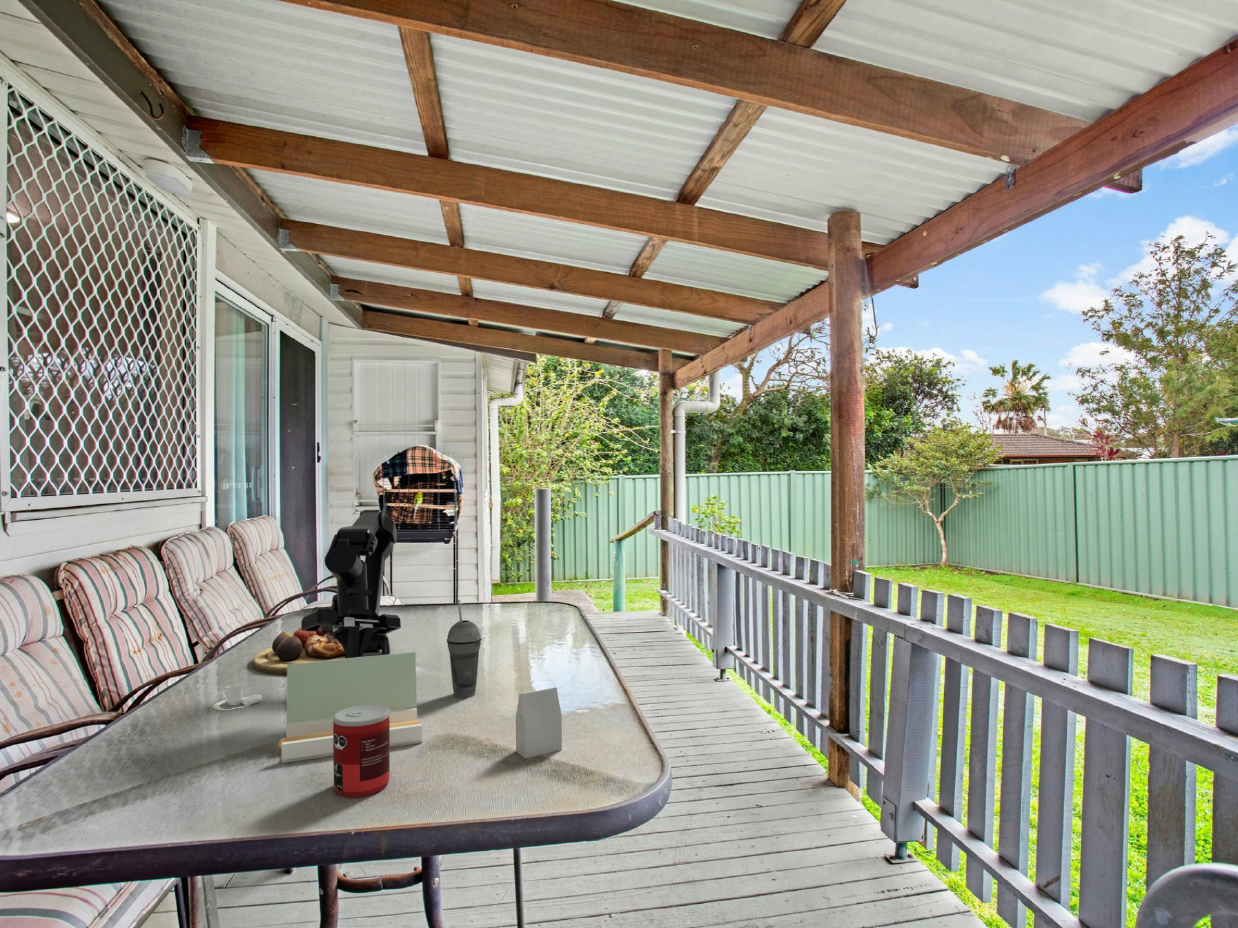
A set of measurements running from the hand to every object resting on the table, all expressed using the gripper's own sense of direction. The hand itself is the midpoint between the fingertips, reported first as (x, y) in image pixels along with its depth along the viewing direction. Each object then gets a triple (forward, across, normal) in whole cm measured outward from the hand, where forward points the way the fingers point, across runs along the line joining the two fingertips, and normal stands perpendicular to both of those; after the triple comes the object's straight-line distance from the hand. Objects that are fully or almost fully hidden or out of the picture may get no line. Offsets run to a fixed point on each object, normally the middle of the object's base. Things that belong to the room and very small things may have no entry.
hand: (354, 667), depth 132 cm
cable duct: (+14, +4, +5) cm, 15 cm away
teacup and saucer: (+2, +7, -29) cm, 30 cm away
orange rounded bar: (+14, +4, +5) cm, 15 cm away
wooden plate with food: (-13, -24, -46) cm, 54 cm away
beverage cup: (+7, -24, +4) cm, 25 cm away
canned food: (+22, +13, +19) cm, 32 cm away
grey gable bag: (+22, -11, +33) cm, 41 cm away
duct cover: (+4, +3, +4) cm, 6 cm away
